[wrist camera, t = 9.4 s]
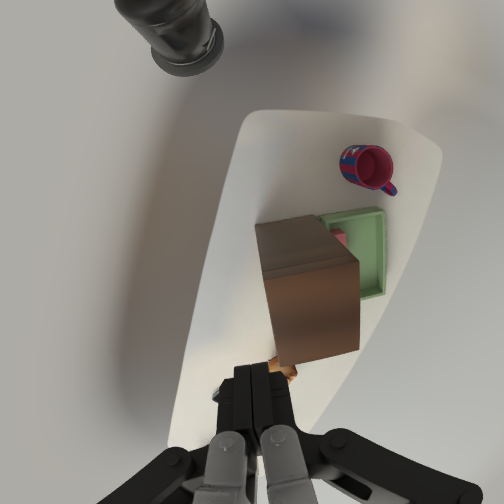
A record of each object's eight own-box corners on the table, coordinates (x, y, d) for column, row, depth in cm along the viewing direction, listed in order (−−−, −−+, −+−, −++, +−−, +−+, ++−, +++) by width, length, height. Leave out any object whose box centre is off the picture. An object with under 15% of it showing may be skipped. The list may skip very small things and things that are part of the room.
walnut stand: (254, 224, 48) (263, 280, 28) (312, 214, 48) (359, 260, 28) (266, 288, 52) (279, 367, 32) (320, 277, 52) (359, 349, 32)
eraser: (339, 227, 48) (328, 230, 48) (345, 232, 45) (334, 235, 45) (342, 259, 50) (332, 261, 50) (348, 266, 47) (337, 268, 47)
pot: (297, 349, 58) (269, 343, 56) (307, 375, 51) (277, 371, 49) (285, 367, 60) (258, 363, 58) (293, 394, 52) (264, 391, 51)
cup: (358, 137, 43) (375, 136, 37) (391, 181, 46) (411, 186, 39) (331, 162, 45) (345, 164, 38) (366, 205, 47) (383, 214, 41)
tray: (319, 215, 48) (325, 220, 44) (376, 206, 47) (384, 210, 44) (327, 298, 53) (332, 307, 50) (378, 286, 53) (385, 294, 50)
